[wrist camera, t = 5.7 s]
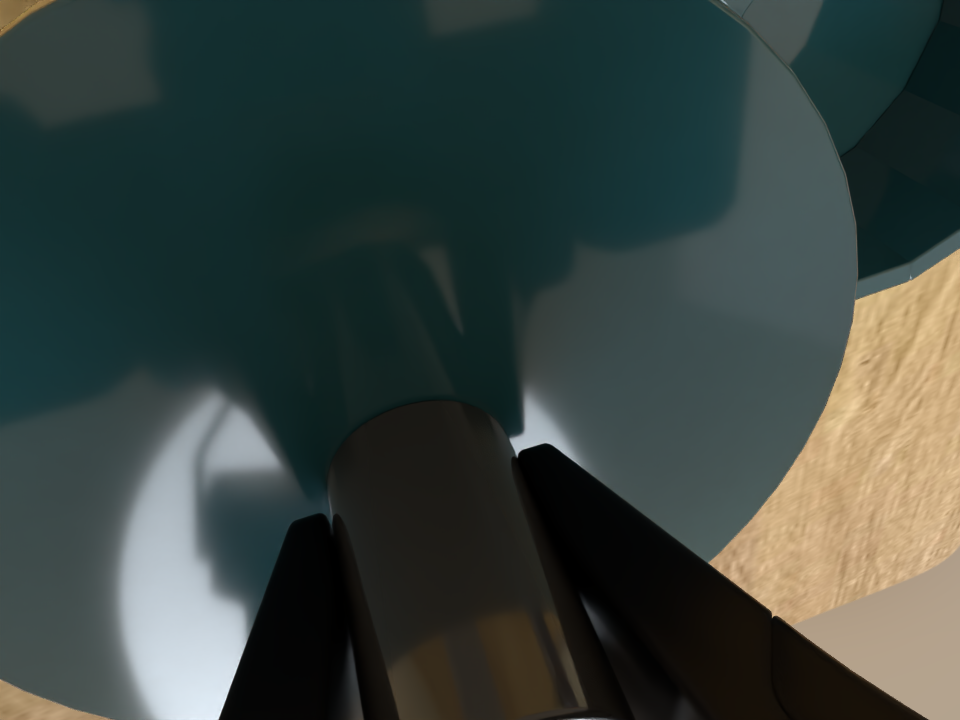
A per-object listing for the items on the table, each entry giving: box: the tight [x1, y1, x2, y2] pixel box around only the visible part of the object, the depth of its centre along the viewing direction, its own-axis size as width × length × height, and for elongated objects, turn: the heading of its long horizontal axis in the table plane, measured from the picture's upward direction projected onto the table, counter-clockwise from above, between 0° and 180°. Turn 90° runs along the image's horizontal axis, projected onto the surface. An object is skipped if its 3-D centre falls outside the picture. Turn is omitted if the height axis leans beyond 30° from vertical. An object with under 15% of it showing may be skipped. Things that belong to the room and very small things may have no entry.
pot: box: [720, 0, 960, 300], centre depth 19 cm, size 11×11×6 cm
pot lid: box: [0, 0, 858, 720], centre depth 8 cm, size 12×12×5 cm
